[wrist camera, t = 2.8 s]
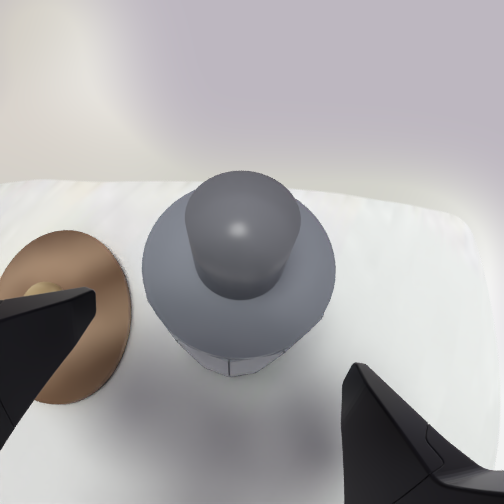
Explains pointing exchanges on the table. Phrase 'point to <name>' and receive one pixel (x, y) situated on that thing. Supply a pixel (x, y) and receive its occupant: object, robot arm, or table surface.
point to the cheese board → (69, 277)
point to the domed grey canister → (238, 271)
